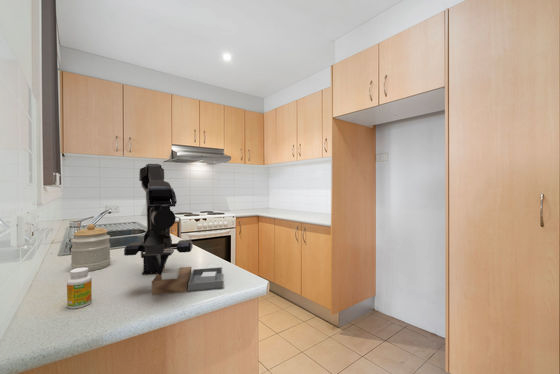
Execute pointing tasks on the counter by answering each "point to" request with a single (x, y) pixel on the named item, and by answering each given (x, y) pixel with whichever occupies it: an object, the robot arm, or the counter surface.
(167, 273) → the tile
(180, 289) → the brown wooden block
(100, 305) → the counter surface
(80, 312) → the counter surface
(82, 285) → the supplement bottle
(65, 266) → the counter surface
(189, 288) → the tray
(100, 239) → the jar
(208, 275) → the tile
